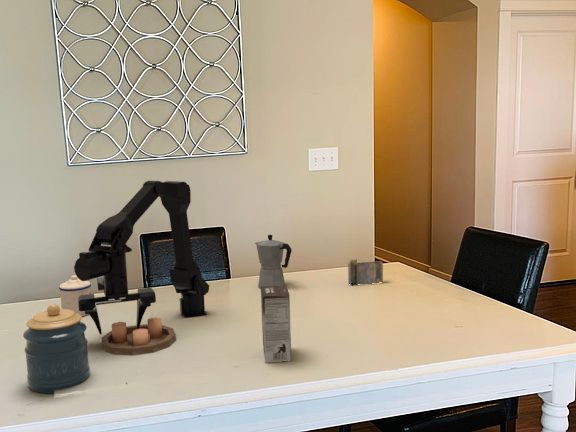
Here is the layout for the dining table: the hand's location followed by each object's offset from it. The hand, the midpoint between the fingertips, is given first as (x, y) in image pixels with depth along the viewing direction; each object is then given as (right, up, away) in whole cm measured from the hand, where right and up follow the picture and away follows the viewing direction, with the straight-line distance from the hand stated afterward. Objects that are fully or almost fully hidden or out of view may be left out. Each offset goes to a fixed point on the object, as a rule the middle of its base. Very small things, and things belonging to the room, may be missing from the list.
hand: (119, 331), depth 161 cm
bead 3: (+9, -2, +3) cm, 9 cm away
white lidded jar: (-20, 0, +30) cm, 36 cm away
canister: (-7, -7, -22) cm, 25 cm away
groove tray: (+5, -3, 0) cm, 6 cm away
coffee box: (+40, -4, -10) cm, 42 cm away
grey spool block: (+70, +6, +53) cm, 88 cm away
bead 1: (0, -2, 0) cm, 3 cm away
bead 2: (+7, -3, -5) cm, 9 cm away
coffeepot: (+38, +5, +52) cm, 65 cm away
